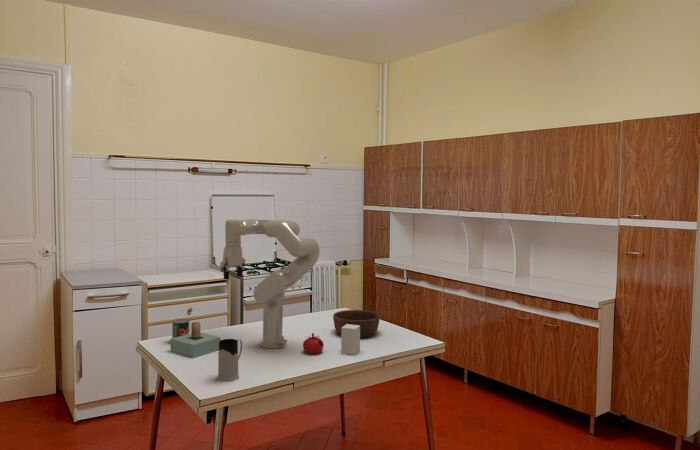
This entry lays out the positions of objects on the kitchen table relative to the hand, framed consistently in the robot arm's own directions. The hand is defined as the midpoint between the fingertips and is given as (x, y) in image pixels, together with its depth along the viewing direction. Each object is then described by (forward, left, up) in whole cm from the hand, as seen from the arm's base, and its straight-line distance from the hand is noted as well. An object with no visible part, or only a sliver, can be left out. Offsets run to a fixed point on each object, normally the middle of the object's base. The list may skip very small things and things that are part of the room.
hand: (233, 277), depth 270 cm
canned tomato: (+15, +21, -32) cm, 41 cm away
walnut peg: (-1, +25, -30) cm, 39 cm away
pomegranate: (-46, -7, -32) cm, 57 cm away
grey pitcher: (-39, +38, -32) cm, 63 cm away
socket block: (-1, +25, -31) cm, 40 cm away
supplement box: (-60, -18, -32) cm, 70 cm away
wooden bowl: (-44, -47, -32) cm, 72 cm away
